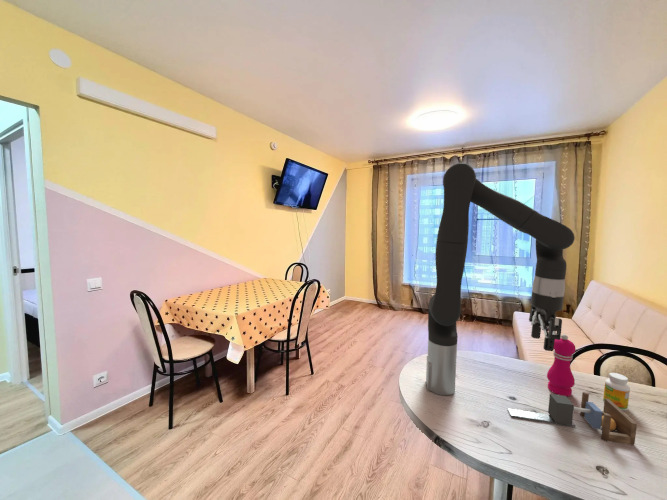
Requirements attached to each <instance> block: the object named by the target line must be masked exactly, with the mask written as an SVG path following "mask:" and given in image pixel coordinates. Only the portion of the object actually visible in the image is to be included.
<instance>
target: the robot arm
mask: <svg viewBox="0 0 667 500" xmlns="http://www.w3.org/2000/svg"><path fill="white" fill-rule="evenodd" d="M442 177H443V178H442V186H443V209H442V213H441V218H440V221H439V226H438V231H437V236H436V244H435V270H436V271H435V272H436V273H435V274H436V285H435V286H436V287H435V292H434V294H433V295H432V296H431V297H430V299H429V301H428V310H427V311H428V312H427V314H428V315H427V332H428V339H427V340H428V341H427V356H426V367H425V368H426V370H425V371H426V372H425V383H426V390H427V391H430V392H432V393H434V394H436V395H441V396H451V395H453V394H454V393H455V391H456V380H457V379H456V378H457V377H456V375H457V355H458V354H457V352H458V330H457V321H459V319H460V317H461V312H462V302H461V299H462V296H461V294H462V293H461V291H462V280H463V276H464V271H465V267H466V266H465V265H466V258H467V252H468V241H469V227H470V224H469V223H470V222H469V221H470V218H469V216H470V215H469V214H470V205H471V203H472V204H474V205H476V206H478V207H480V208H482V209H483V210H485V211H486V212H488V213H490V214H491V215H493V216H494V217H496V218H498V219H499V220H501V221H502V222H503V223H505V224H507V225H508V226H510V227H512V228H514V229H515V230H517V231H519V232H520V233H523V234H527V235H529V236H530V237H532V238H534V239H535V255H536V265H535V272H534V279H533V281H532V290H531V297H530V309H529V316H528V317H529V318H528V322H530V324H531V326H532V327H531V332H530V337H531V338H533V339H541V332H542V331H543V332H544V333H543V334H544V341H543V349H544V351H546V352H547V351H548V352H553V351H554V342H555V339H557V340H560V338H561V335H562V327H563V319H562V318H558V317H557V316H556V313H557V312H560V311H563V307H564V298H565V291H566V275H567V273H566V271H567V261H566V259H564V257H563V256H564V255H563V254H564V250H565V249H568V248H570V247H571V246H572V245H573V244H574V242H575V238H576V237H575V233H574V232H573V230H572V229H571V228H570V227H568V226H567V225H565V224H563V223H561V222H559V221H558V220H554V219H552V218H550V217H548V216H546V215H543V214H541V213H540V212H539V211H537V210H535V209H533V208H532V207H530V206H528V205H527V204H525V203H523V202H521V201H519V200H517V199H515V198H513V197H510V196H508V195H506V194H504V193H501V192H499V191H496V190H494V189H492V188H490V187H489V186H487V185H485V184H484V183H482V182H481V181H480V180H478V179H477V175H476V172H475V170H474V168H473V167H472V166H471V165H469V164H467V163H465V162H458V163H455V164H453V165H451V166H450V167H448V169H447V170H446V171H445V172H444V175H443V176H442Z"/></svg>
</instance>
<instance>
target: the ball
mask: <svg viewBox="0 0 667 500" xmlns="http://www.w3.org/2000/svg"><path fill="white" fill-rule="evenodd" d="M603 417H604V416H602V421H601V427H602V425H603ZM615 429H616V423H615V421H614V420H613V419H612V418H611V424H610V432H613V431H616V430H615Z"/></svg>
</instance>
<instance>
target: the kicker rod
mask: <svg viewBox="0 0 667 500" xmlns="http://www.w3.org/2000/svg"><path fill="white" fill-rule="evenodd" d="M548 398H549V399H548V410H547V413H548V415H550V416H551V417H552V419H553V420H554V421H555V422H557V423H563V424H569V425H572V421H573V419H574V412H579V413H580V412H585V416H584V417H583V419H584V420H585V421H586V422H587V423H588V424H589V425H590V426H591V427H592V429H595V430H602V426H601V421H602V413H603V412H602V411H603V410H601V409H600V408H599V407H598V406H597V405H596V404H595V403H594V402H593V401H588V402H587V401H586V407H585V409H584V408H581V407H575V404H574V403H573V402H572V401H571V400H570V398H568V397H567V396H562V395H557V394H555V393H549V397H548Z"/></svg>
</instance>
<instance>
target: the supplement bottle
mask: <svg viewBox="0 0 667 500" xmlns="http://www.w3.org/2000/svg"><path fill="white" fill-rule="evenodd" d="M628 379H629V378H628V377H626V376H625V375H623V374H621V373H617V372H609V374H608V378H606V379H605V381H604V390H603V396H602V402H604V401H605V399H609V400H611V401H612V402H613V403H614V404H615V405H616V406H617V407H618V408H620V409H621V410H622V411H627V410H628V407H629V399H630V392H631V388H630V386H629V385H628Z"/></svg>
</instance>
